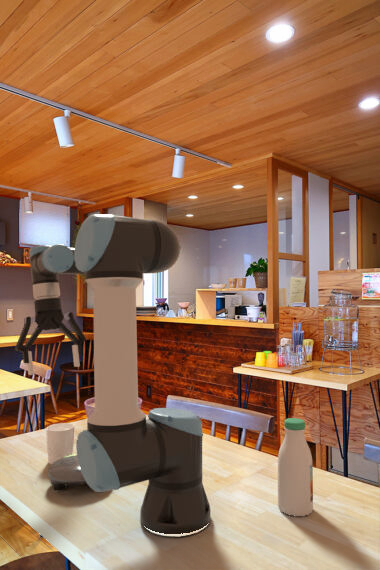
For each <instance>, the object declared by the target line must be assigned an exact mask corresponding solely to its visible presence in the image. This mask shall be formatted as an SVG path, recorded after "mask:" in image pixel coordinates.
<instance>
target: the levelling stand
mask: <svg viewBox="0 0 380 570" xmlns="http://www.w3.org/2000/svg"><path fill="white" fill-rule="evenodd" d="M47 476H48V478H49V480H50V481H49V482H50V485H52V491H54V492H62V491H65V490H66V489H67V486H68V485H70V486H72V485H73V486H74V485H78V486H79V485H85V484H87V482H86V481H85V479H84V477H83V474H82V472H81V469H80V466H79V462H78V457H77V454H76V453H74V454H73V453H72V455H68V456H64V458H62V459H60V460H57V461H55V462H54V463H52V464H51V465H50V464H49V467H48V475H47ZM87 485H88V484H87Z"/></svg>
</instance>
